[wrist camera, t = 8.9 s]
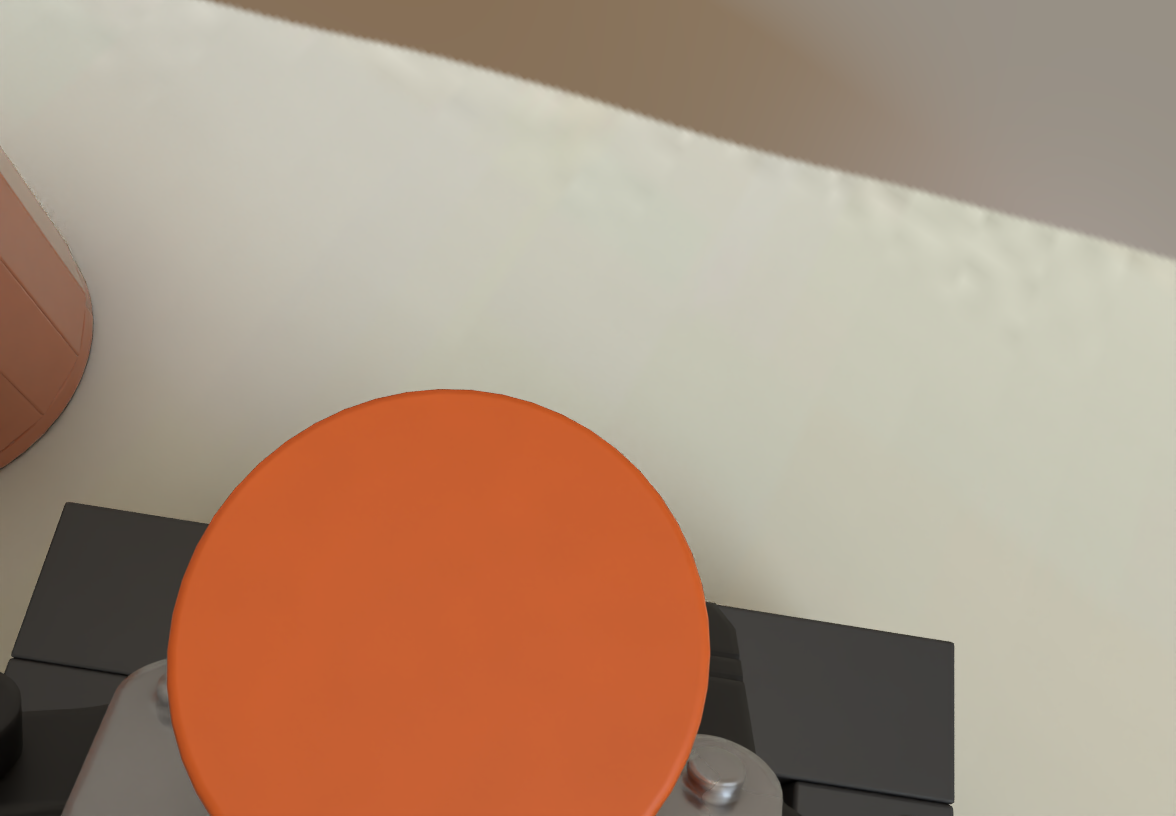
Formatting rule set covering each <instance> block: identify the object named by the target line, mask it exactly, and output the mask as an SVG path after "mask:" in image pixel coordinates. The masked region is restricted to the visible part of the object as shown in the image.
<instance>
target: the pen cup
mask: <svg viewBox="0 0 1176 816" xmlns="http://www.w3.org/2000/svg"><path fill="white" fill-rule="evenodd" d="M92 333H93V314H92V305H91V299H90V295H89V292H88V288H87V285H86V282H85V280H84V277H83V275H82V273H81V271H80V269H79V267H78V265H77V264H76V262H75V261H74V259H73V258H72V256H71V253H70V250H69V248H68V245H67V243H66V242H65V240H64V239H63V237H62V236H61V235H60V233H59V232H58V230H57V229H56V227H55V226H54V224H53V223H52V221H51V220H50V218H49V217H48V215H47V214H46V212H45V211H44V209H43V208H42V206H41V205H40V204H39V202H38V201H37V199H36V198H35V196H34V195H33V193H32V192H31V190H30V189H29V187H28V186H27V184H26V183H25V181H24V180H23V178H22V177H21V175H20V174H19V172H18V171H17V170H16V168H15V167H14V165H13V164H12V162H11V161H10V159H9V158H8V156H7V155H6V153H5V152H4V150H3V149H2V147H1V146H0V469H1V468H3V467H4V466H6V465H7V464H9V463H10V462H11V461H13V460H14V459H15V458H17V457H18V456H20V455H21V454H22V453H24V452H25V451H26V450H27V449H28V448H29V447H30V446H32V445H33V444H34V443H35V442H36V441H37V440H38V439H39V438H40V437H41V436H42V435H43V434H44V433H45V432H46V431H47V430H48V429H49V428H50V426H51V425H52V424H53V423H54V422H55V421H56V419H57V418H58V417H59V416H60V414H61V413H62V411H63V410H64V408H65V407H66V405H67V404H68V402H69V401H70V399H71V398H72V396H73V394H74V392H75V390H76V388H77V386H78V384H79V382H80V380H81V378H82V375H83V372H84V369H85V367H86V364H87V361H88V357H89V352H90V347H91V342H92Z"/></svg>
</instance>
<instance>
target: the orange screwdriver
mask: <svg viewBox="0 0 1176 816" xmlns="http://www.w3.org/2000/svg"><path fill="white" fill-rule="evenodd" d="M709 665H710V636H709V619H708V613H707V608H706V602H705V597H704V592H703V586H702V583H701V579H700V576H699V573H698V570H697V567H696V564H695V561H694V558H693V555H692V552H691V550H690V548H689V546H688V544H687V541H686V539H685V537H684V535H683V533H682V531H681V529H680V527H679V524H678V523H677V521H676V519H675V518H674V516H673V515H672V513H671V512H670V510H669V508H668V507H667V505H666V504H665V502H664V501H663V499H662V497H661V496H660V495H659V493H658V492H657V491H656V490H655V489H654V487H653V486H652V485H651V484H650V483H649V481H648V480H647V479H646V478H645V477H644V475H643V474H642V473H641V472H640V471H639V470H638V469H637V468H636V467H635V466H634V465H633V464H632V463H631V462H630V461H629V460H628V459H627V458H625V457H624V456H623V455H622V454H621V453H620V452H619V451H618V450H617V449H616V448H614V447H613V446H612V445H610V444H609V443H607V442H606V441H605V440H603V439H602V438H601V437H599V436H598V435H596V434H595V433H594V432H592V431H591V430H589V429H587V428H586V427H584V426H582V425H580V424H578V423H577V422H575V421H573V420H571V419H569V418H567V417H566V416H564V415H562V414H559V413H557V412H554V411H552V410H549V409H547V408H544V407H542V406H540V405H537V404H535V403H532V402H528V401H524V400H521V399H517V398H513V397H510V396H506V395H502V394H495V393H488V392H481V391H474V390H450V389H436V390H425V391H415V392H406V393H401V394H396V395H392V396H387V397H382V398H378V399H374V400H371V401H368V402H365V403H362V404H359V405H356V406H353V407H350V408H347V409H344V410H342V411H340V412H338V413H336V414H334V415H332V416H330V417H328V418H325V419H323V420H321V421H319V422H317V423H315V424H313V425H312V426H310V427H308V428H307V429H305V430H304V431H302V432H301V433H299V434H297V435H296V436H294V437H293V438H291V439H289V440H288V441H286V442H285V443H284V444H283V445H281V446H280V447H279V448H278V449H276V450H275V451H274V452H273V453H271V454H270V455H269V456H268V457H266V458H265V459H264V460H263V461H262V462H260V463H259V464H258V465H257V466H256V467H255V468H254V469H253V470H252V471H251V472H250V473H249V474H248V475H247V477H246V478H245V479H244V480H243V481H242V482H241V483H240V484H239V485H238V486H237V487H236V488H235V489H234V490H233V492H232V493H231V494H230V496H229V497H228V498H227V499H226V501H225V502H224V503H223V505H222V506H221V507H220V509H219V510H218V511H217V513H216V514H215V515H214V517H213V518H212V520H211V522H210V524H209V525H208V527H207V529H206V530H205V532H204V534H203V536H202V537H201V539H200V541H199V543H198V544H197V546H196V548H195V550H194V553H193V555H192V557H191V560H190V562H189V564H188V567H187V569H186V572H185V574H184V576H183V579H182V582H181V585H180V589H179V592H178V596H177V599H176V603H175V607H174V610H173V614H172V620H171V627H170V634H169V641H168V648H167V692H168V700H169V707H170V715H171V723H172V727H173V730H174V734H175V738H176V741H177V745H178V749H179V752H180V756H181V759H182V762H183V764H184V766H185V769H186V771H187V773H188V776H189V778H190V780H191V783H192V785H193V787H194V789H195V792H196V794H197V795H198V797H199V799H200V800H201V802H202V804H203V805H204V807H205V808H206V810H207V812H208V813H209V815H210V816H655V815H656V814H657V812H658V811H659V810H660V808H661V807H662V805H663V804H664V802H665V801H666V799H667V798H668V796H669V795H670V793H671V792H672V790H673V788H674V786H675V784H676V782H677V780H678V778H679V776H680V774H681V772H682V770H683V768H684V766H685V764H686V762H687V760H688V758H689V755H690V753H691V750H692V747H693V744H694V741H695V738H696V735H697V732H698V729H699V726H700V723H701V719H702V714H703V709H704V704H705V699H706V694H707V690H708V679H709Z"/></svg>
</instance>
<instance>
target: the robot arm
mask: <svg viewBox="0 0 1176 816" xmlns="http://www.w3.org/2000/svg"><path fill="white" fill-rule="evenodd" d="M706 608H707V613H708V619H709V636H710V665H709V679H708V690H707V694H706V699H705V704H704V709H703V714H702V719H701V723H700V726H699V729H698V732H697V735H696V738H695V741H694V744H693V747H692V750H691V753H690V755H689V758H688V760H687V762H686V764H685V766H684V768H683V770H682V772H681V774H680V776H679V778H678V780H677V782H676V784H675V786H674V788H673V790H672V792H671V793H670V795H669V796H668V798H667V799H666V801H665V802H664V804H663V805H662V807H661V808H660V810H659V811H658V812H657V814H656V815H655V816H803V815H801V814H799V813H798V812H796V811H795V810H793V809H792V808H791V807H789V806H788V805H787V804H786V803H784V802H783V795H782V788H781V785H780V782H779V780H778V778H777V776H776V775H775V773H774V772H773V771H772V769H771V768H770V767H769V766H768V765H767V764H766V763H765V762H764V761H763V760H762V759H761V758H760V757H759V756H757V755H756V751H755V745H754V739H753V733H752V726H751V720H750V714H749V708H748V702H747V696H746V690H745V684H744V682H743V672H742V665H741V660H739V656H740V653H739V647H738V641H737V635H736V629H735V628H734V626H733V625H732V624H731V622H730V621H729V620H728V619H727V617H726V616H725V615H724V614H723V612H722V611H721V610H720V609H719V607H718V606H717V605H716V603H710V602H706ZM0 816H210V815H209V813H208V812H207V810H206V808H205V807H204V805H203V804H202V802H201V800H200V799H199V797H198V795H197V794H196V792H195V789H194V787H193V785H192V783H191V780H190V778H189V776H188V773H187V771H186V769H185V766H184V764H183V762H182V759H181V756H180V752H179V749H178V745H177V741H176V738H175V734H174V730H173V727H172V723H171V715H170V707H169V700H168V692H167V659H163V660H160V661H157V662H153V663H151V664H149V665H146V666H144V667H142V668H140V669H138V670H137V671H135V672H133V673H132V674H131V675H129V676H128V677H127V678H125V679H124V680H123V681H122V683H121V684H120V685H119V686H118V687H117V689H116V691H115V692H114V694H113V697H112V699H111V701H110V703H109V704H105V705H100V706H94V707H86V708H75V709H58V710H41V711H25V712H22V707H21V693H20V690H19V688H18V686H17V685H16V683H15V682H14V681H13V680H12V679H11V678H9V677H8V676H6V675H5V674H3V673H1V672H0ZM898 816H913V815H898Z"/></svg>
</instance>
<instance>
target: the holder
mask: <svg viewBox="0 0 1176 816" xmlns="http://www.w3.org/2000/svg"><path fill="white" fill-rule="evenodd" d="M208 525H209V524H205V523H199V522H192V521H186V520H180V519H174V518H167V517H161V516H155V515H148V514H142V513H136V512H129V511H123V510H117V509H111V508H104V507H98V506H92V505H85V504H79V503H73V502H66V504H65V506H64V509H63V511H62V514H61V517H60V520H59V522H58V525H57V528H56V531H55V534H54V536H53V539H52V542H51V545H50V547H49V550H48V553H47V556H46V559H45V561H44V564H43V567H42V570H41V573H40V575H39V578H38V581H37V584H36V586H35V589H34V592H33V595H32V598H31V600H30V603H29V606H28V609H27V611H26V614H25V617H24V620H23V623H22V625H21V628H20V631H19V634H18V637H17V639H16V642H15V645H14V648H13V650H12V654H11V656H12V657H13V658H12V659H10V660H9V662H8V665H7V667H6V670H5V673H4V674H5V675H6V676H8V677H9V678H11V679H12V680H13V681H14V682H15V683H16V685H17V686H18V688H19V690H20V693H21V707H22V712H25V711H41V710H58V709H75V708H86V707H94V706H100V705H105V704H109V703H110V701H111V699H112V697H113V694H114V692H115V691H116V689H117V687H118V686H119V685H120V684H121V683H122V681H123V680H124V679H125V678H127V677H128V676H129V675H131V674H132V673H133V672H135V671H137V670H138V669H140V668H142V667H144V666H146V665H149V664H151V663H153V662H157V661H160V660H163V659H167V648H168V641H169V634H170V627H171V620H172V614H173V610H174V607H175V603H176V599H177V596H178V592H179V589H180V585H181V582H182V579H183V576H184V574H185V572H186V569H187V567H188V564H189V562H190V560H191V557H192V555H193V553H194V550H195V548H196V546H197V544H198V543H199V541H200V539H201V537H202V536H203V534H204V532H205V530H206V529H207V527H208ZM717 606H718V607H719V609H720V610H721V611H722V612H723V614H724V615H725V616H726V617H727V619H728V620H729V621H730V622H731V624H732V625H733V626H734V628H735V629H736V635H737V641H738V647H739V653H740V656H739V660H741V665H742V672H743V682H744V684H745V690H746V696H747V702H748V708H749V714H750V720H751V726H752V733H753V739H754V745H755V751H756V755H757V756H759V757H760V758H761V759H762V760H763V761H764V762H765V763H766V764H767V765H768V766H769V767H770V768H771V769H772V771H773V772H774V773H775V775H776V776H777V778H778V780H779V782H780V785H781V788H782V795H783V802H784V803H786V804H787V805H788V806H789V807H791V808H792V809H793V810H795V811H796V812H798V813H799V814H801V815H803V816H898V815H913V816H953V808H952V806H950V805H949V804H952V803H954V643H952V642H948V641H942V640H936V639H929V638H923V637H917V636H910V635H904V634H898V633H892V632H885V631H879V630H873V629H866V628H860V627H854V626H847V625H841V624H835V623H829V622H822V621H816V620H810V619H803V618H797V617H791V616H784V615H778V614H772V613H766V612H759V611H753V610H747V609H740V608H734V607H728V606H721V605H717Z"/></svg>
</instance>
